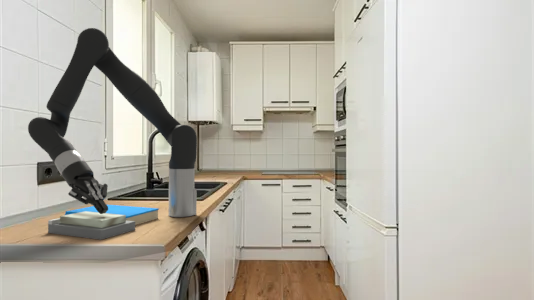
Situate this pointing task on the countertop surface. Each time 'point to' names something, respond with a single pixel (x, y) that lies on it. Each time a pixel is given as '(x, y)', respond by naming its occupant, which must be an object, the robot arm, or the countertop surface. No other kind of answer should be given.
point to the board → (89, 229)
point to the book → (125, 212)
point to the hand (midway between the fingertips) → (104, 211)
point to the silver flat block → (93, 219)
